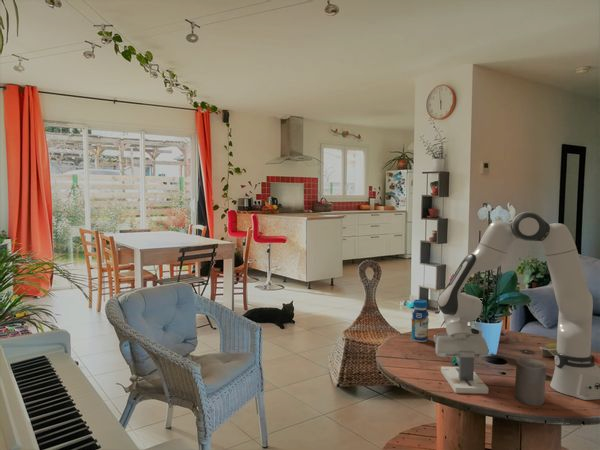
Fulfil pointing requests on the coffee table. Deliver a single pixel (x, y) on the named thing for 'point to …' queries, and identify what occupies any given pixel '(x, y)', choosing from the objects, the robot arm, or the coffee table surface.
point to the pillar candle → (530, 381)
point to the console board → (463, 382)
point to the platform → (549, 349)
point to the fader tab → (466, 365)
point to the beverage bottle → (420, 321)
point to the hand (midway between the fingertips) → (465, 366)
